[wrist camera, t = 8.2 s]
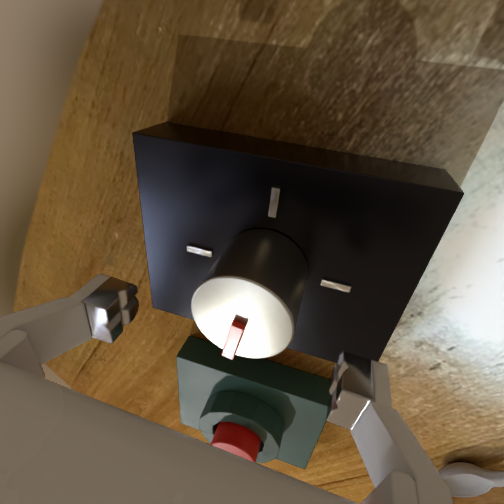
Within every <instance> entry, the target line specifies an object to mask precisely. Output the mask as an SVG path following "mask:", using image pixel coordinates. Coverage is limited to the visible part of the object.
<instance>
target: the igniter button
mask: <svg viewBox="0 0 504 504" xmlns="http://www.w3.org/2000/svg"><path fill="white" fill-rule="evenodd" d="M260 444H261V439H260V437H259V436H258V435H257V434H256V433H254V432H253V431H251V430H250V429H249V428H247V427H245V426H242V425H239V424H236V423H233V422H220V423H219V424H218V426H217V429H216V431H215V434H214V437H213V439H212V442H211V444H210V445H213V446H215V447H218V448H220V449H223V450H225V451H228V452H230V453H233V454H235V455H238V456H240V457H243V458H245V459H248V460H250V461H253V462H255V463H256V460H257V456H258V452H259V448H260Z"/></svg>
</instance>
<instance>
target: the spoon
mask: <svg viewBox="0 0 504 504" xmlns="http://www.w3.org/2000/svg"><path fill="white" fill-rule="evenodd" d="M438 472H439V473H440V475H441V476H442V478H443V479H444V481H445V482H446V483H447V485H448V486H449V488H450V491H451V496H453V497H473V496H478V495H481V494H484V493H486V492H488V491H489V490H490V489H491V488H492V487H504V471H490V470H486V469H483V468H480V467H478V466H475V465H473V464H470V463H466V462H457V463H452V464H448V465H446V466H444V467H443V468H441V469H440V470H439V471H438Z"/></svg>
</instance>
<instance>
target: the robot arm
mask: <svg viewBox="0 0 504 504" xmlns="http://www.w3.org/2000/svg"><path fill="white" fill-rule="evenodd" d="M136 294H137V286H136V285H134V284H131V283H128V282H125V281H122V280H119V279H117V278H114V277H110V276H107V275H105V274H98V275H96V276H95V277H94V278H93V279H91V280H90V281H89V282H88V283H87V284H85V285H84V286H83V287H82V288H80V289H79V290H78V291H77V292H75V293H74V294H73V295H72V296H71V297H69V298H67V297H64V298H60V299H57V300H54V301H51V302H47V303H44V304H41V305H37V306H34V307H31V308H28V309H24V310H21V311H18V312H15V313H11V314H8V315H5V316H2V317H0V504H359V503H356V502H354V501H351V500H348V499H346V498H343V497H341V496H338V495H336V494H333V493H331V492H328V491H326V490H323V489H321V488H318V487H316V486H313V485H311V484H308V483H306V482H303V481H301V480H298V479H296V478H293V477H291V476H288V475H286V474H283V473H280V472H278V471H275V470H273V469H270V468H268V467H265V466H263V465H260V464H258V463H255V462H253V461H250V460H248V459H245V458H243V457H240V456H238V455H235V454H233V453H230V452H228V451H225V450H223V449H220V448H218V447H215V446H213V445H210V444H208V443H205V442H203V441H200V440H198V439H195V438H193V437H190V436H188V435H185V434H183V433H180V432H178V431H175V430H173V429H170V428H167V427H165V426H162V425H160V424H157V423H155V422H152V421H150V420H147V419H145V418H142V417H140V416H137V415H135V414H132V413H130V412H127V411H125V410H122V409H120V408H117V407H115V406H112V405H110V404H107V403H104V402H102V401H99V400H97V399H94V398H92V397H89V396H87V395H84V394H82V393H79V392H77V391H74V390H72V389H69V388H67V387H64V386H61V385H59V384H57V383H54V382H51V381H49V380H47V379H45V373H44V371H43V369H42V366H41V364H43V363H45V362H47V361H49V360H51V359H53V358H55V357H57V356H59V355H61V354H63V353H65V352H67V351H69V350H71V349H73V348H75V347H77V346H79V345H81V344H83V343H85V342H86V341H88V340H90V339H92V337H93V338H96V339H99V340H102V341H105V342H108V343H111V344H112V343H113V342H114V341H115V340H116V339H117V337H118V336H119V335H120V334H121V333H122V332H123V326H124V325H126V324H129V323H131V321H132V320H133V319H134V318H135V316H136V314H137V312H138V307H139V301H138V299H137V298H136V297H135V295H136ZM329 393H330V394H331V397H330V399H329V401H328V406H327V419H326V421H328V422H331V423H333V424H336V425H338V426H341V427H343V428H346V429H348V430H351V434H352V436H353V438H354V441H355V443H356V445H357V448H358V450H359V452H360V455H361V457H362V459H363V462H364V464H365V466H366V469H367V471H368V473H369V476H370V478H371V480H372V482H373V485H374V487H375V489H374V490H373V491H372V492H371V493H370V494H369V495H368V497H367V498H366V499H365V500H364V501H363V502H362V503H361V504H453V500H452V496H451V491H450V488H449V486H448V485H447V483H446V482H445V481H444V479H443V478H442V476H441V475H440V473H439V472H438V470H437V469H436V467H435V466H434V464H433V463H432V461H431V460H430V458H429V457H428V455H427V454H426V452H425V451H424V449H423V448H422V446H421V445H420V443H419V442H418V440H417V439H416V438H415V436H414V435H413V433H412V432H411V430H410V429H409V427H408V426H407V424H406V423H405V421H404V420H403V418H402V417H401V415H400V414H399V412H398V411H397V410H395V409H393V408H392V399H391V390H390V381H389V372H388V367H387V365H386V364H383V363H380V362H377V361H374V360H370V359H367V358H364V357H361V356H358V355H354V354H351V353H348V352H345V351H342V352H341V354H340V356H339V360H338V364H337V365H335V366H334V369H333V371H332V375H331V378H330V384H329Z"/></svg>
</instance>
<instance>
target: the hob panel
mask: <svg viewBox="0 0 504 504" xmlns="http://www.w3.org/2000/svg"><path fill="white" fill-rule="evenodd" d="M132 135H133V144H134V152H135V160H136V169H137V177H138V186H139V194H140V203H141V211H142V220H143V228H144V237H145V245H146V254H147V262H148V270H149V279H150V287H151V296H152V304H153V308H156V309H160V310H163V311H166V312H170V313H173V314H176V315H180V316H183V317H186V318H190V319H193V320H194V318H193V316H192V311H191V300H192V296H193V293H194V291H195V290H196V288H197V287H198V286H199V284H200V283H201V281H202V280H203V279H204V277H205V276H206V274H207V273H208V272H209V270H210V269H211V267H212V266H213V265H214V263H215V262H216V260H217V259H218V258H219V256H220V255H221V253H222V252H223V251H224V249H225V248H226V246H227V245H228V244H229V242H230V241H231V240H232V239H233V238H234V237H235V236H237V235H238V234H240V233H242V232H244V231H248V230H253V229H266V230H271V231H275V232H278V233H280V234H282V235H284V236H286V237H287V238H289V239H290V240H291V241H293V242H294V243H295V244H296V245H297V246H298V247H299V249H300V250H301V252H302V253H303V255H304V257H305V259H306V262H307V266H308V277H307V281H306V286H305V290H304V294H303V298H302V302H301V307H300V311H299V315H298V319H297V323H296V327H295V332H294V336H293V339H292V341H291V343H290V344H289V346H288V347H287V348H289V349H292V350H296V351H299V352H302V353H306V354H309V355H312V356H316V357H319V358H322V359H326V360H329V361H332V362H336V363H338V360H339V356H340V354H341V352H342V351H345V352H348V353H351V354H354V355H358V356H361V357H364V358H367V359H370V360H374V361H377V362H378V361H379V359H380V357H381V355H382V353H383V351H384V349H385V347H386V345H387V343H388V341H389V339H390V337H391V335H392V333H393V331H394V329H395V328H396V326H397V324H398V322H399V320H400V318H401V316H402V314H403V312H404V310H405V308H406V306H407V304H408V302H409V300H410V298H411V296H412V294H413V292H414V290H415V289H416V287H417V285H418V283H419V281H420V279H421V277H422V275H423V273H424V271H425V269H426V267H427V265H428V263H429V261H430V259H431V257H432V255H433V253H434V252H435V250H436V248H437V246H438V244H439V242H440V240H441V238H442V236H443V234H444V232H445V230H446V228H447V226H448V224H449V222H450V220H451V218H452V216H453V214H454V213H455V211H456V209H457V207H458V205H459V203H460V201H461V199H462V197H463V195H464V192H463V191H462V190H461V188H460V187H459V186H458V185H457V183H456V182H455V181H454V179H453V178H452V177H451V176H450V174H449V173H448V172H447V171H446V170H445V169H439V168H433V167H427V166H421V165H415V164H409V163H404V162H398V161H392V160H386V159H380V158H374V157H368V156H363V155H357V154H351V153H345V152H339V151H333V150H327V149H321V148H316V147H310V146H304V145H298V144H292V143H286V142H280V141H275V140H269V139H263V138H257V137H251V136H245V135H239V134H234V133H228V132H222V131H216V130H210V129H204V128H198V127H193V126H187V125H181V124H175V123H169V122H164V123H161V124H158V125H155V126H152V127H148V128H145V129H142V130H139V131H136V132H133V133H132Z"/></svg>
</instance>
